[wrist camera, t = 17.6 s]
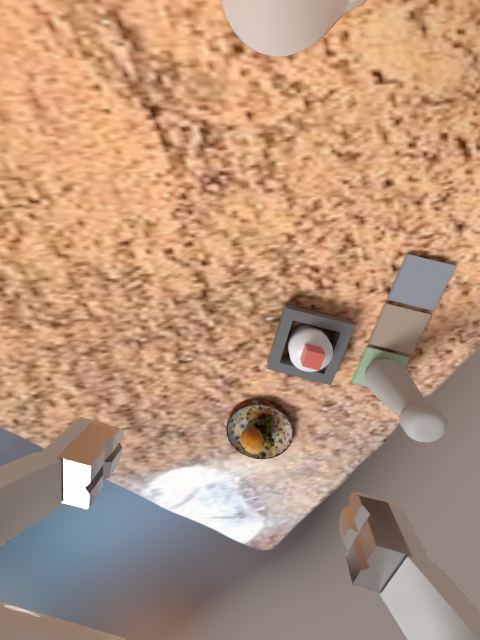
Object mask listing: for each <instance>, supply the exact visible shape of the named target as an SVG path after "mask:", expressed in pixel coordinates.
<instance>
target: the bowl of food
mask: <svg viewBox="0 0 480 640" xmlns="http://www.w3.org/2000/svg"><path fill="white" fill-rule="evenodd" d="M292 424H293V423H292V421H291V420H290V418H289V417H288V416H287V414H286V411H285V408H284V409H282V408H281V405H280V406H279V405H277V404H275V405H271V404H270V403H269V402H268V401H267V400H265V399H254V400H252V401H251V400H249V401H248V402H245V403H244V402H241V403H240V404H238V405H237V406H236V407H235V409H233V410H232V411H231V412H230V414H229V417H228V421H227V429H226V430H227V436H228V439H229V441H230V443H231V445H232V446H233V447H234V448H235V449H236V450H237V451H239V452H240V453H242V454H244V455H246V456H248V457H251V458H255V459H267V458H273V457H276V456H278V455H280V454H282V453H283V452H284V451H285V450H287V448H288V447H289V446H290V444H291V442H292V435H293V428H292Z"/></svg>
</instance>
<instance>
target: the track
mask: <svg viewBox="0 0 480 640" xmlns="http://www.w3.org/2000/svg"><path fill="white" fill-rule="evenodd" d="M455 268H456V266H455V265H451V264H447V263H443V262H438V261H434V260H430V259H426V258H422V257H418V256H413V255H409V254H406V256H405V258H404V260H403V263H402V265H401V267H400V270H399V272H398V274H397V277H396V279H395V281H394V284H393V286H392V288H391V290H390V293H389V295H388V297H387V299H388V300H391V301H396V302H400V303H404V304H408V305H412V306H416V307H420V308H424V309H428V310H432V311H434V309H435V307H436V305H437V303H438V301H439V299H440V298H441V296H442V294H443V292H444V290H445V288H446V286H447V284H448V282H449V280H450V278H451V276H452V274H453V272H454V270H455ZM430 317H431V314H429V313H424V312H420V311H416V310H412V309H408V308H404V307H400V306H396V305H392V304H388V303H385V304H384V307H383V309H382V311H381V314H380V316H379V318H378V320H377V323H376V325H375V327H374V330H373V332H372V334H371V337H370V339H369V341H368V343H369V344H372V345H376V346H380V347H384V348H388V349H392V350H396V351H399V352H403V353H407V354H411V355H412V353H413V351H414V349H415V347H416V345H417V343H418V341H419V339H420V337H421V335H422V333H423V331H424V329H425V327H426V325H427V323H428V321H429V319H430ZM383 358H387V359H393V360H395V361H397V362H399V363H401V364H403V366H404V367H406V365H407V363H408V361H409V359H410V358H409V357H408V356H405V355H401V354H397V353H393V352H389V351H385V350H381V349H377V348H373V347H369V346H366V348H365V350H364V353H363V355H362V357H361V360H360V362H359V364H358V367H357V369H356V371H355V374H354V376H353V378H352V380H351V382H352V383H354V384H358V385H362V386H366V387H367V385H366V382H365V369H366V368H367V367H368V365H369V364H370V363H371V361H372V360H377V359H383Z"/></svg>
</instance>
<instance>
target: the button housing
mask: <svg viewBox="0 0 480 640" xmlns="http://www.w3.org/2000/svg"><path fill="white" fill-rule="evenodd" d="M293 321H297V322H301V323H305V324H309V325H313V326H317V327H321V328H325V329H329V330H333V331H335V332H334V335H333V337H332V340H331V345H332V348H333V356H332V359H331V361H330V362H329V364H328V365H327V366H326V367H324V368H323V369H321V370H320V371H314V372H306V371H303V370H300V369H298V368H297V367H296V366H295V365H294V364H293V363H292V361H291V359H290V358H287V357H283V356H282V353H283V350H284V347H285V344H286V341H287V337H288V334H289V331H290V328H291V325H292V322H293ZM354 327H355V325H354V324H353V323H352V322H351V321H350V320H348V319H344V318H340V317H336V316H332V315H328V314H324V313H320V312H316V311H312V310H308V309H304V308H300V307H296V306H292V305H288V304H284V307H283V311H282V314H281V317H280V321H279V324H278V327H277V331H276V334H275V338H274V341H273V344H272V348H271V351H270V354H269V358H268V361H267V369H270V370H274V371H278V372H282V373H286V374H290V375H294V376H298V377H301V378H305V379H309V380H313V381H317V382H321V383H325V384H328V385H331V384H332V382H333V379H334V377H335V374H336V372H337V369H338V367H339V364H340V362H341V359H342V357H343V354H344V352H345V350H346V347H347V345H348V342H349V340H350V337H351V335H352V332H353V330H354Z"/></svg>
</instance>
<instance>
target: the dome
mask: <svg viewBox="0 0 480 640" xmlns="http://www.w3.org/2000/svg"><path fill="white" fill-rule="evenodd" d="M288 350H289V355H290V359H291V361H292V363H293V364H294V365H295V366H296V367H297V368H298V369H300V370H303V371H306V372H314V371H320V370H321V369H323V368H324V367H326V366H327V365H328V364H329V362H330V361H331V359H332V356H333V348H332V345H331V343H330V341H329V339H328V338H327V336H326V334H325V333H324V331H323V330H322V329H321V328H319V327H317V326H313V325H309V324H307V325H302V326H299V327H297V328H295V329H294V330H293V331H292V332H291V334H290V335H289V338H288Z"/></svg>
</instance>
